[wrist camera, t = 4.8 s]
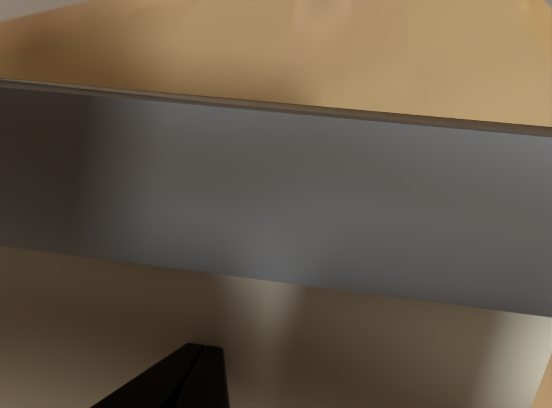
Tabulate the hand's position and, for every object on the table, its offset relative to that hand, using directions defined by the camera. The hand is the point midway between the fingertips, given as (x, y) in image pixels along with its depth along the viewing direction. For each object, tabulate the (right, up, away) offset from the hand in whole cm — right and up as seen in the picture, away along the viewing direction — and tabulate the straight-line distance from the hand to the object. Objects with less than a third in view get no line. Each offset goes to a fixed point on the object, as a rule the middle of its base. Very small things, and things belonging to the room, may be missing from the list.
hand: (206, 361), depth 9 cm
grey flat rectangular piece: (0, 0, +1) cm, 2 cm away
